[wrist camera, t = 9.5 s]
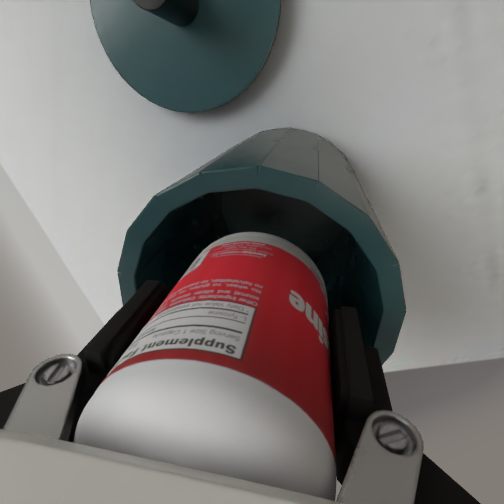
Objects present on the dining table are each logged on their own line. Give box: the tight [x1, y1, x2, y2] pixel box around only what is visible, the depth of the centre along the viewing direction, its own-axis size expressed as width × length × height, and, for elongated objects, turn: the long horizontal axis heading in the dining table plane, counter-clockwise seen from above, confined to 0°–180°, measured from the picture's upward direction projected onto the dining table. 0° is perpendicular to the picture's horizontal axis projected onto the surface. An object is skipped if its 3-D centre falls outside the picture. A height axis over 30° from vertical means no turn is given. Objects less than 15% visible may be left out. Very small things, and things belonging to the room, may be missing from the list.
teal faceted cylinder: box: [118, 128, 406, 365], centre depth 20 cm, size 12×12×14 cm
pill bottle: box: [73, 232, 336, 501], centre depth 10 cm, size 6×6×11 cm
